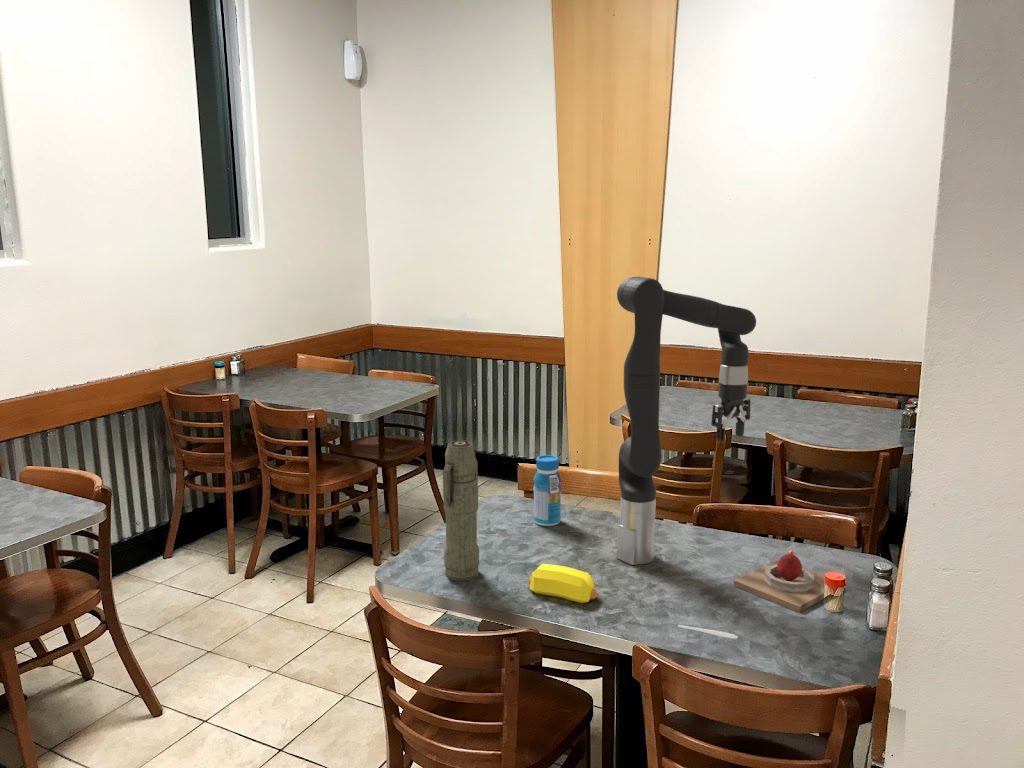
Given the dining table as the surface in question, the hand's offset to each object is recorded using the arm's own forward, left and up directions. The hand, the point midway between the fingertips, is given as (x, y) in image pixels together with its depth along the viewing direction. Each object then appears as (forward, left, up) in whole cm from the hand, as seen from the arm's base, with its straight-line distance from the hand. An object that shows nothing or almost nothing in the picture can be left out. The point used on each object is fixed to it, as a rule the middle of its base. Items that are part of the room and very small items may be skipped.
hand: (730, 438), depth 225 cm
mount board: (-12, -28, -30) cm, 43 cm away
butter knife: (-49, -23, -31) cm, 62 cm away
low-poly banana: (-58, +5, -30) cm, 66 cm away
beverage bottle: (-29, +43, -30) cm, 60 cm away
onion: (-12, -28, -29) cm, 42 cm away
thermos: (-70, +30, -30) cm, 82 cm away
